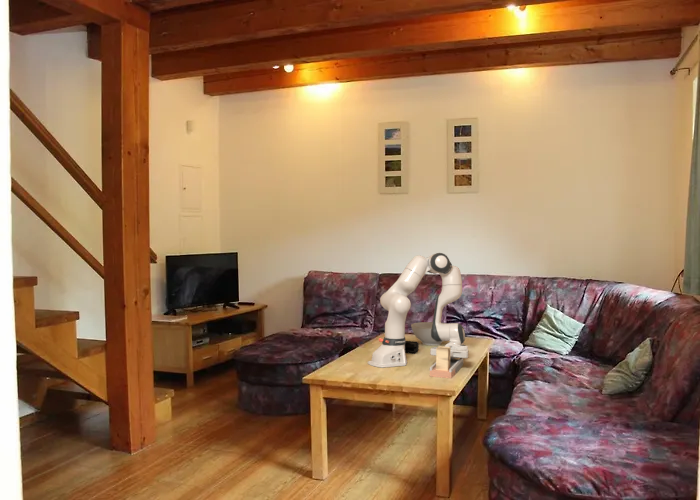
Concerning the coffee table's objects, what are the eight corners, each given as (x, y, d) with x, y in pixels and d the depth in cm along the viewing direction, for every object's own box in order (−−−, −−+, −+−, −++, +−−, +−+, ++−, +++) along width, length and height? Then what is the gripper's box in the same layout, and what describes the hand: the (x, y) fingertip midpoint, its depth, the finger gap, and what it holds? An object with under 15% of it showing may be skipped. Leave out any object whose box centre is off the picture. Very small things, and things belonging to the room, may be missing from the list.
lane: (443, 363, 336) (443, 355, 336) (463, 365, 332) (463, 357, 332) (429, 376, 306) (429, 367, 306) (451, 378, 302) (451, 369, 302)
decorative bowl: (409, 339, 408) (410, 321, 408) (449, 340, 407) (450, 322, 407) (412, 347, 381) (412, 328, 381) (455, 348, 380) (455, 328, 380)
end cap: (418, 352, 367) (419, 340, 367) (415, 354, 361) (415, 342, 361) (403, 350, 371) (403, 339, 371) (399, 352, 365) (399, 341, 365)
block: (438, 367, 313) (438, 346, 313) (450, 368, 311) (450, 347, 311) (436, 369, 308) (436, 348, 307) (447, 370, 305) (448, 349, 305)
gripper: (433, 343, 333) (427, 347, 321) (470, 346, 326) (465, 350, 313) (433, 354, 334) (427, 359, 321) (470, 357, 326) (465, 362, 313)
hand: (446, 355), depth 317 cm, fingers closed
